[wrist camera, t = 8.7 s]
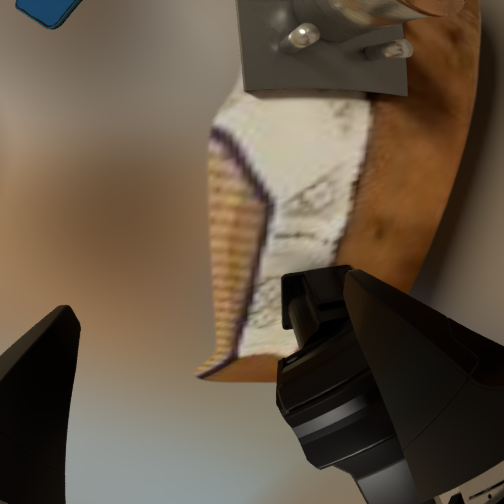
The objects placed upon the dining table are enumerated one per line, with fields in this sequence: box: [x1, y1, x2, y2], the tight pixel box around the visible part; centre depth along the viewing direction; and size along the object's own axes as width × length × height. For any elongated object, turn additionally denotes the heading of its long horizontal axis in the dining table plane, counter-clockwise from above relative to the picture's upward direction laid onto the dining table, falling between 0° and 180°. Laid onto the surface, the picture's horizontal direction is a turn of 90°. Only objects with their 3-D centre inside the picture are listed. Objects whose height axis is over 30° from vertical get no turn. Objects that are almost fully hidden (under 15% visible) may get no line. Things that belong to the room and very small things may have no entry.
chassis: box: [235, 0, 413, 97], centre depth 11 cm, size 12×12×5 cm
